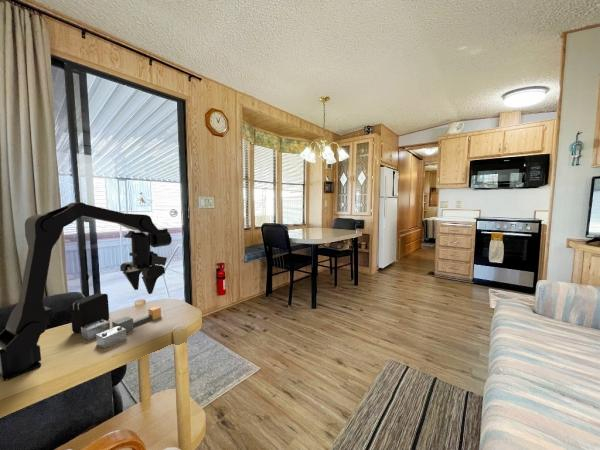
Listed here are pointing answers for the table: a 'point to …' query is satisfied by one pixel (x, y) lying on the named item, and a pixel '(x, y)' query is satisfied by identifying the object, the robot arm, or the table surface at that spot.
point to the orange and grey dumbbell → (130, 324)
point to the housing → (103, 333)
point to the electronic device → (89, 311)
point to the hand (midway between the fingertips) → (143, 291)
